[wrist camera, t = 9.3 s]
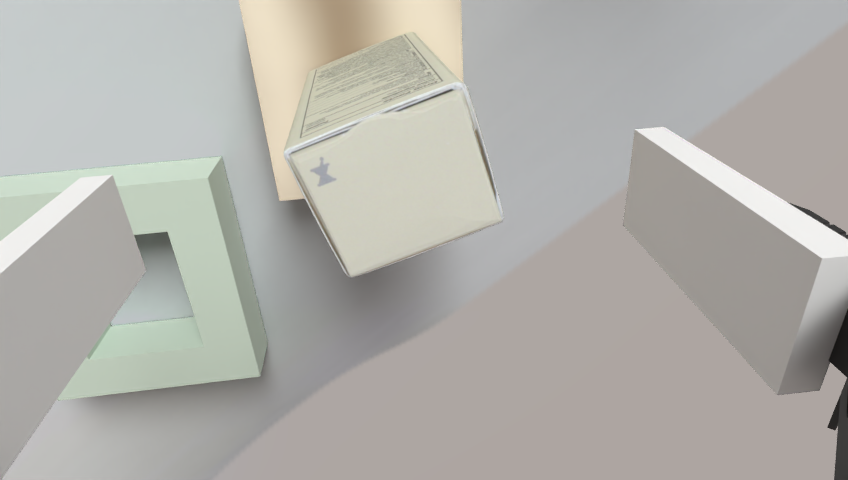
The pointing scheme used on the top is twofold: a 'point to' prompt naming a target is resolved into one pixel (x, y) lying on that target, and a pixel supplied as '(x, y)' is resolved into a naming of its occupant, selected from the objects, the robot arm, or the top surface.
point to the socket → (199, 266)
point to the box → (390, 155)
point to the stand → (330, 51)
